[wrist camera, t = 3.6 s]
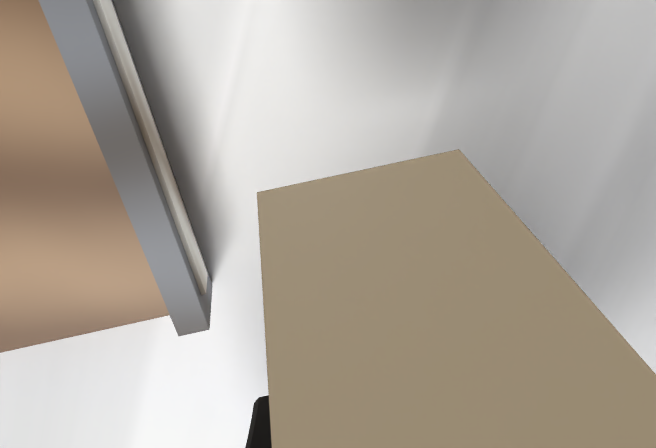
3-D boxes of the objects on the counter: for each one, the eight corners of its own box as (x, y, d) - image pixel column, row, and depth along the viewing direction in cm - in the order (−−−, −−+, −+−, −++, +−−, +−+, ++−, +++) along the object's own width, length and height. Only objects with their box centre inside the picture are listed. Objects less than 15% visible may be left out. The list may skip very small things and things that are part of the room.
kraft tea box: (459, 149, 11) (728, 454, 5) (470, 368, 14) (642, 721, 8) (257, 192, 11) (278, 561, 5) (312, 404, 14) (368, 789, 8)
